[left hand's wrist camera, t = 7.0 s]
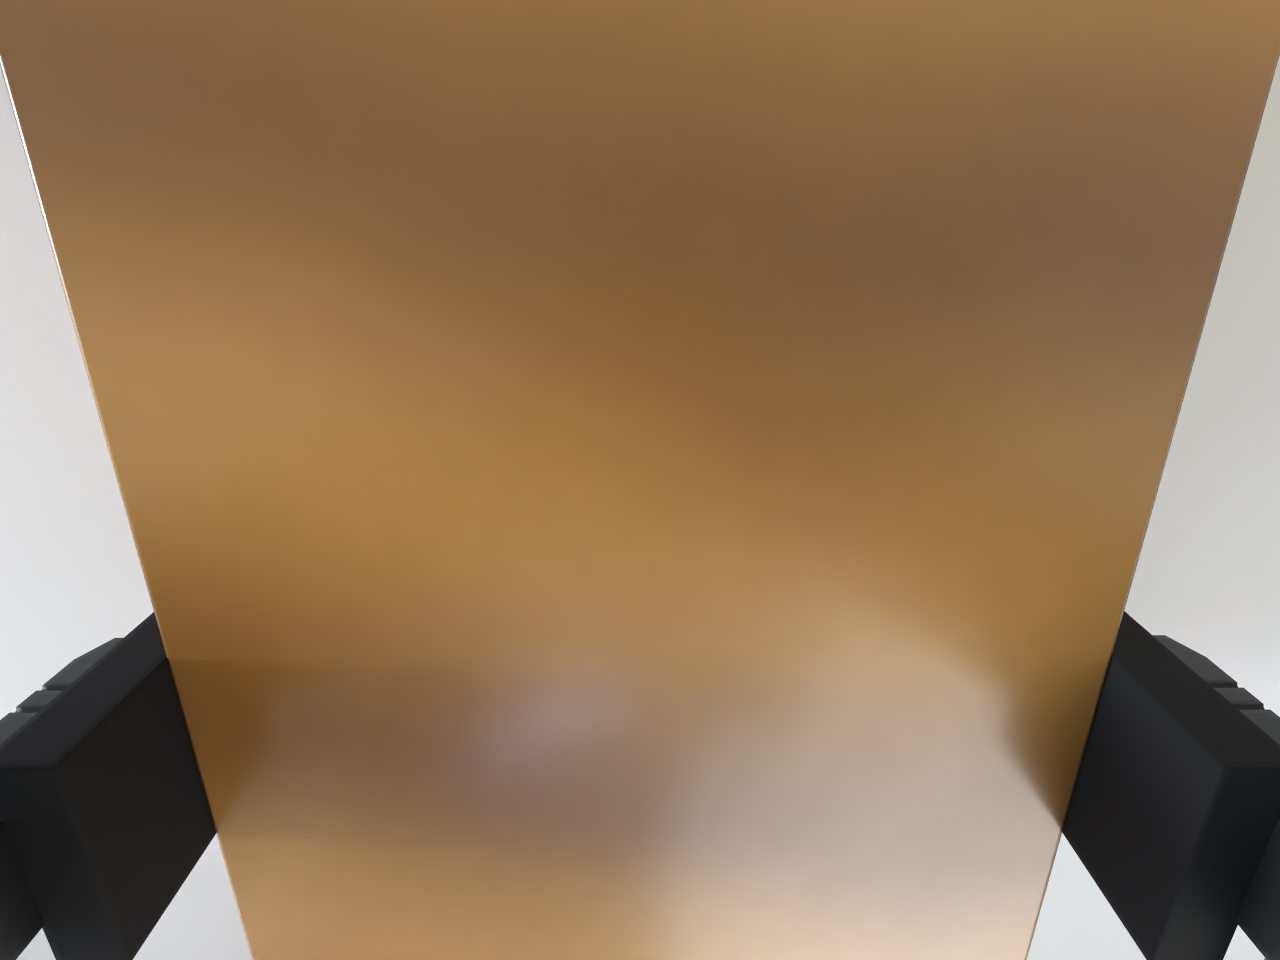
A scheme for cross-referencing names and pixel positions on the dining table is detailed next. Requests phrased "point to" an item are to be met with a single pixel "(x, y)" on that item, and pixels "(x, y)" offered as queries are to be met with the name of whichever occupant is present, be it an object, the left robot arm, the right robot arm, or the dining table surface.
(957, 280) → the cabinet
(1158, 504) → the dining table surface
